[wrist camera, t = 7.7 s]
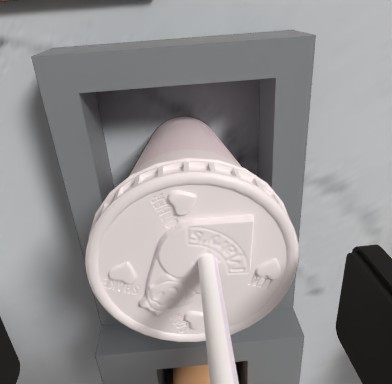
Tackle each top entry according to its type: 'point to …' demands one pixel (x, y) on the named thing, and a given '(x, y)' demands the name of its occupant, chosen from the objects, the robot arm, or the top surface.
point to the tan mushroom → (191, 375)
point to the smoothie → (191, 245)
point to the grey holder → (103, 184)
